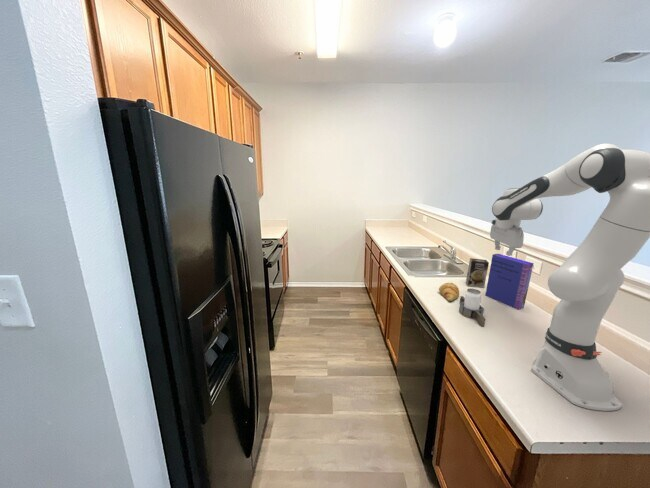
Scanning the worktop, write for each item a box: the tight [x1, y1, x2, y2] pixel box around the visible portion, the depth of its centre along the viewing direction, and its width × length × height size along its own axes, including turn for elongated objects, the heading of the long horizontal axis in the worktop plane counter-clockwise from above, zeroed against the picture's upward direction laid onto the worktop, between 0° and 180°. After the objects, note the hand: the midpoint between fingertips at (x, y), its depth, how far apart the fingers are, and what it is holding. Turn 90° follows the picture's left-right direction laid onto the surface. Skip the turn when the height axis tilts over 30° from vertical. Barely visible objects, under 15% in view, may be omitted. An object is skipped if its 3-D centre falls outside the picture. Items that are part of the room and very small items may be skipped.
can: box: [464, 288, 482, 310], centre depth 128 cm, size 6×6×12 cm
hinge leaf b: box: [459, 295, 485, 315], centre depth 132 cm, size 16×10×4 cm, turn 177°
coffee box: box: [465, 257, 490, 289], centre depth 162 cm, size 9×6×16 cm
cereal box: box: [484, 253, 534, 311], centre depth 140 cm, size 17×5×24 cm, turn 24°
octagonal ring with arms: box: [458, 306, 486, 328], centre depth 126 cm, size 16×10×4 cm, turn 177°
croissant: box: [438, 282, 460, 302], centre depth 150 cm, size 21×10×8 cm, turn 161°
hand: (502, 252), depth 129 cm, fingers open, 8 cm apart
